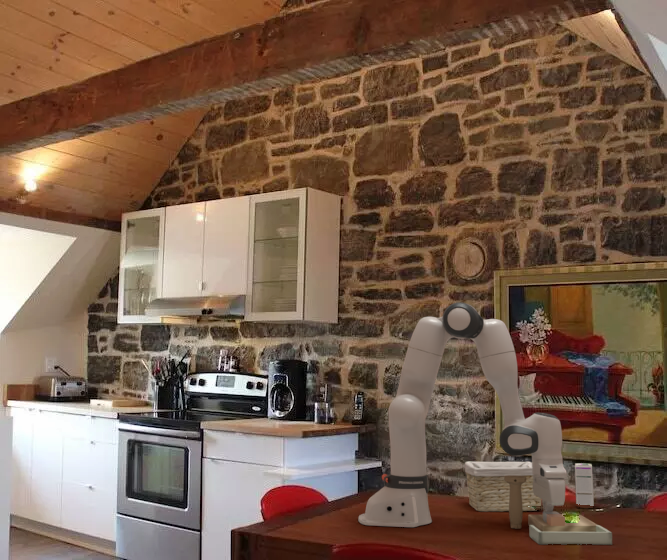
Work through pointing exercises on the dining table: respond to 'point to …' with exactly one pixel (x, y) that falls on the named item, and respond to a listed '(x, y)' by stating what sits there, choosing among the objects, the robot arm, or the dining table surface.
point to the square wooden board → (581, 526)
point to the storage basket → (498, 485)
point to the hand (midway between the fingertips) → (548, 515)
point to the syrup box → (584, 484)
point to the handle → (515, 500)
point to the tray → (572, 537)
